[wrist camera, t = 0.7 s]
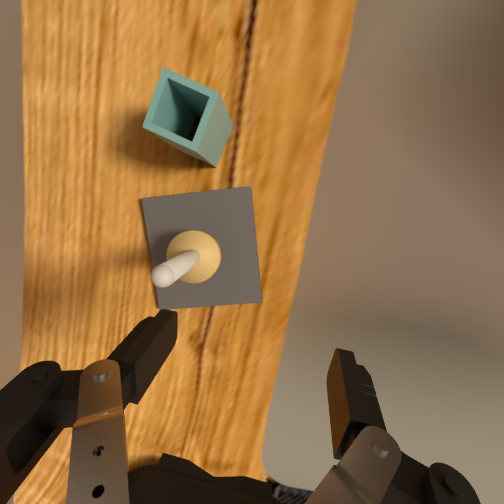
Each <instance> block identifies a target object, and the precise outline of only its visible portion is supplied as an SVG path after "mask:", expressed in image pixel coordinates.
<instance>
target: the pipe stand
mask: <svg viewBox="0 0 504 504" xmlns="http://www.w3.org/2000/svg"><path fill="white" fill-rule="evenodd" d="M141 199H142V205H143V211H144V217H145V223H146V230H147V236H148V242H149V248H150V254H151V261H152V267H153V270H152V272H151V281H152V283H153V284H154V285H155V286H156V292H157V298H158V304H159V310H161V309H178V308H192V307H205V306H218V305H232V304H245V303H258V302H262V291H261V281H260V271H259V261H258V251H257V241H256V231H255V221H254V210H253V200H252V190H251V186H249V187H240V188H231V189H222V190H213V191H204V192H194V193H185V194H176V195H167V196H158V197H149V198H141Z"/></svg>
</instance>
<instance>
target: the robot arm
mask: <svg viewBox="0 0 504 504" xmlns="http://www.w3.org/2000/svg"><path fill="white" fill-rule="evenodd" d="M177 319H178V314H177V312H175V311H171V310H166V309H161V310H160V311H159V312H158V313H157V315H156V316H155V317H150V316H149V317H147V318H146V319H144V320H142V321H140V322H139V323H138V324H137V326H136V327H135V328H134V329H133V331H131V332H130V333H129V334H128V336H127V337H126V338H125V339H124V340H123V341H122V342H121V343H120V344H119V345H118V346H117V348H116V349H115V350H114V351H113V352H112V353H111V354H110V355H109V356H108V358H107V359H105V360H99V361H96V362H94V363H92V364H90V365H89V366H87V367H86V368H85V369H84V370H69V371H61V368H60V365H59V364H58V363H57V362H54V361H42V362H38V363H35V364H33V365H31V366H29V367H27V368H26V369H24V370H23V371H22V372H21V373H19V374H18V375H17V376H16V377H15V378H14V379H13V380H12V381H10V382H9V383H8V384H7V385H6V386H5V387H4V388H3V389H1V390H0V504H6V503H7V502H8V500H9V499H10V498H11V497H12V495H13V494H14V493H15V491H16V490H17V489H18V488H19V486H20V485H21V484H22V482H23V481H24V480H25V478H26V477H27V476H28V474H29V473H30V472H31V471H32V469H33V468H34V467H35V465H36V464H37V463H38V461H39V460H40V459H41V458H42V456H43V455H44V454H45V452H46V451H47V450H48V448H49V447H50V446H51V444H52V443H53V442H54V441H55V439H56V438H57V437H58V435H59V434H60V433H61V431H62V430H63V429H64V428H68V427H73V430H72V441H71V453H70V464H69V476H68V487H67V498H66V504H283V503H282V502H280V501H279V500H278V499H277V498H276V497H274V496H273V495H271V492H272V484H270V483H266V482H263V481H259V480H256V479H252V478H249V477H245V476H236V477H214V476H212V475H210V474H209V473H207V472H206V471H204V470H203V469H201V468H200V467H198V466H197V465H195V464H194V463H192V462H191V461H189V460H186V459H183V458H179V457H176V456H172V455H169V454H165V453H163V454H162V456H161V458H160V461H159V462H155V463H149V464H145V465H142V466H139V467H137V468H135V469H133V470H131V471H129V467H128V455H127V443H126V430H125V418H124V409H125V408H126V406H127V405H128V403H129V402H130V403H134V404H138V403H139V401H140V400H141V398H142V397H143V395H144V393H145V392H146V390H147V389H148V387H149V386H150V384H151V382H152V381H153V379H154V378H155V376H156V374H157V373H158V371H159V370H160V368H161V366H162V365H163V363H164V362H165V360H166V359H167V357H168V355H169V354H170V352H171V351H172V349H173V347H174V345H175V343H176V339H177ZM327 393H328V403H329V413H330V424H331V434H332V444H333V455H334V458H335V459H339V460H340V461H339V463H338V464H337V465H336V466H335V465H334V466H333V467H332V468H331V469H330V471H329V472H328V473H327V475H326V476H325V477H324V479H323V480H322V481H321V483H320V484H319V485H318V487H317V488H316V489H315V491H314V492H313V493H312V495H311V496H310V498H309V499H308V500H307V502H306V503H305V504H481V503H480V501H479V499H478V496H477V494H476V492H475V490H474V489H473V487H472V486H471V484H470V483H469V482H468V481H467V480H466V478H465V477H464V476H463V475H462V474H461V473H459V472H458V471H457V470H455V469H454V468H452V467H451V466H449V465H446V464H444V463H434V464H432V465H431V466H430V467H429V468H428V467H427V466H424V465H423V464H421V463H420V462H418V461H416V460H414V459H413V458H411V457H409V456H408V455H406V454H404V453H403V452H402V451H401V450H400V448H399V446H398V444H397V442H396V441H395V439H394V438H393V437H392V436H391V435H390V434H389V433H387V430H386V427H385V423H384V420H383V417H382V413H381V410H380V406H379V403H378V399H377V397H376V392H375V389H374V385H373V382H372V378H371V376H370V374H369V373H368V371H367V370H366V369H365V367H364V366H362V365H358V364H356V360H355V356H354V353H353V352H352V351H347V350H343V349H338V348H337V349H336V350H335V352H334V355H333V358H332V361H331V364H330V367H329V371H328V375H327Z"/></svg>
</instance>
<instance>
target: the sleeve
mask: <svg viewBox="0 0 504 504" xmlns="http://www.w3.org/2000/svg"><path fill="white" fill-rule="evenodd" d="M196 115H198V116H200V117H202V118H201V121H200V123H199V126H198V128H197V131H196V134H195V136H194V139H193V142H192V141H189V140H187V137H188V134H189V132H190V129H191V127H192V124H193V121H194V119H195V116H196ZM142 127H143V128H145V129H146V130H148V131H149V132H151V133H152V134H154V135H155V136H157V137H158V138H160V139H161V140H163V141H165V142H166V143H168V144H169V145H171V146H172V147H174V148H175V149H177V150H179V151H181V152H183V153H185V154H188V155H190V156H192V157H194V158H196V159H199V160H201V161H203V162H205V163H207V164H210V165H212V166H214V167H217V165H218V162H219V160H220V157H221V155H222V152H223V150H224V147H225V145H226V143H227V140H228V138H229V135H230V133H231V130H232V128H233V124H232V121H231V119H230V117H229V114H228V112H227V110H226V107H225V105H224V103H223V100H222V98H221V96H220V93H219V92H217V91H215V90H212V89H210V88H208V87H206V86H204V85H201V84H199V83H197V82H195V81H193V80H191V79H188V78H186V77H184V76H182V75H180V74H177V73H175V72H173V71H171V70H169V69H167V68H164V67H163V69H162V72H161V74H160V77H159V80H158V83H157V86H156V89H155V92H154V95H153V97H152V100H151V103H150V106H149V109H148V112H147V115H146V118H145V120H144V123H143V126H142Z"/></svg>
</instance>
